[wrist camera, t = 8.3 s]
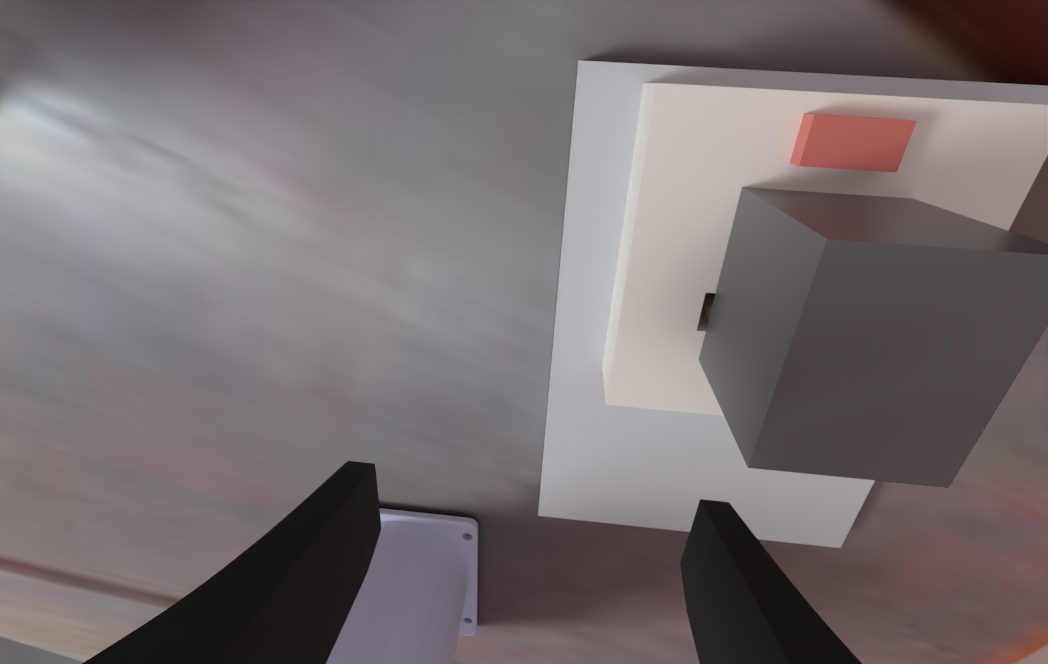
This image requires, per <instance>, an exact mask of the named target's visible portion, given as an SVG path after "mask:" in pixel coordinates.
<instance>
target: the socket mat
mask: <svg viewBox="0 0 1048 664" xmlns="http://www.w3.org/2000/svg"><path fill="white" fill-rule="evenodd" d="M644 83H667V84H685V85H703V86H721V87H738V88H756V89H774V90H792V91H810V92H828V93H846V94H863V95H881V96H899V97H917V98H935V99H953V100H970V101H988V102H1006V103H1024V104H1042V105H1048V86H1044V85H1025V84H1007V83H988V82H970V81H951V80H933V79H914V78H896V77H877V76H858V75H840V74H821V73H803V72H784V71H766V70H747V69H729V68H710V67H691V66H673V65H654V64H636V63H617V62H599V61H580V60H579V61H578V70H577V81H576V93H575V104H574V115H573V126H572V138H571V149H570V160H569V171H568V182H567V194H566V205H565V216H564V227H563V239H562V250H561V261H560V272H559V284H558V295H557V306H556V317H555V329H554V340H553V351H552V362H551V374H550V385H549V396H548V407H547V419H546V430H545V441H544V452H543V464H542V475H541V486H540V497H539V509H538V516H545V517H554V518H564V519H573V520H582V521H592V522H601V523H610V524H620V525H629V526H638V527H648V528H657V529H666V530H676V531H685V532H690V530H691V527H692V524H693V521H694V517H695V514H696V511H697V508H698V504H699V501H700V499H703V500H713V501H722V502H729V503H730V504H731V506H732V507H733V508H734V510H735V511H736V512H737V513H738V515H739V516H740V517H741V519H742V520H743V521H744V522H745V524H746V525H747V526H748V528H749V529H750V530H751V532H752V533H753V534H754V536H755V537H756V538H757V539H760V540H769V541H779V542H788V543H797V544H807V545H816V546H825V547H835V548H841V546H842V544H843V542H844V540H845V538H846V536H847V534H848V532H849V530H850V528H851V526H852V524H853V523H854V521H855V519H856V517H857V515H858V513H859V511H860V509H861V507H862V505H863V503H864V501H865V499H866V497H867V495H868V493H869V491H870V489H871V487H872V485H873V484H874V482H875V480H866V479H856V478H845V477H835V476H825V475H815V474H805V473H795V472H785V471H775V470H765V469H754V468H748V467H747V465H746V463H745V460H744V458H743V456H742V454H741V452H740V449H739V447H738V445H737V443H736V441H735V439H734V436H733V434H732V432H731V430H730V428H729V425H728V423H727V421H726V419H725V417H724V416H720V415H710V414H699V413H688V412H677V411H667V410H656V409H645V408H635V407H624V406H613V405H606V399H605V390H604V380H603V371H602V365H603V359H604V352H605V345H606V338H607V331H608V324H609V317H610V311H611V304H612V297H613V290H614V283H615V276H616V269H617V263H618V256H619V249H620V242H621V235H622V228H623V221H624V215H625V208H626V201H627V194H628V187H629V180H630V173H631V167H632V160H633V153H634V146H635V139H636V132H637V125H638V118H639V112H640V105H641V98H642V91H643V84H644ZM705 295H710V296H715V293H706V294H705Z"/></svg>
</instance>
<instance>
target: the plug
mask: <svg viewBox="0 0 1048 664" xmlns="http://www.w3.org/2000/svg"><path fill="white" fill-rule="evenodd" d="M702 310H703V312H704V314H705V315H706V317H707V319H708V325H707V329H706V333H705V337H704V341H703V345H702V349H701V353H700V357H699V362H700V364H701V366H702V369H703V371H704V373H705V375H706V377H707V379H708V382H709V384H710V386H711V388H712V390H713V393H714V395H715V397H716V399H717V401H718V404H719V406H720V408H721V410H722V412H723V414H724V417H725V419H726V421H727V423H728V425H729V428H730V430H731V432H732V434H733V436H734V439H735V441H736V443H737V445H738V447H739V449H740V452H741V454H742V456H743V458H744V460H745V463H746V465H747V467H748V468H754V469H765V470H775V471H785V472H795V473H805V474H815V475H825V476H835V477H845V478H856V479H866V480H876V481H886V482H896V483H906V484H916V485H926V486H936V487H947V488H949V486H950V484H951V483H952V481H953V479H954V478H955V476H956V474H957V473H958V471H959V470H960V468H961V466H962V465H963V463H964V461H965V460H966V458H967V456H968V455H969V453H970V452H971V450H972V448H973V447H974V445H975V443H976V442H977V440H978V438H979V437H980V435H981V434H982V432H983V430H984V429H985V427H986V425H987V424H988V422H989V420H990V419H991V417H992V416H993V414H994V412H995V411H996V409H997V407H998V406H999V404H1000V403H1001V401H1002V399H1003V398H1004V396H1005V394H1006V393H1007V391H1008V389H1009V388H1010V386H1011V385H1012V383H1013V381H1014V380H1015V378H1016V376H1017V375H1018V373H1019V371H1020V370H1021V368H1022V367H1023V365H1024V363H1025V362H1026V360H1027V358H1028V357H1029V355H1030V353H1031V352H1032V350H1033V349H1034V347H1035V345H1036V344H1037V342H1038V340H1039V339H1040V337H1041V336H1042V334H1043V332H1044V331H1045V329H1046V327H1047V326H1048V244H1046V243H1043V242H1040V241H1037V240H1034V239H1031V238H1028V237H1026V236H1023V235H1020V234H1017V233H1014V232H1011V231H1008V230H1005V229H1002V228H999V227H996V226H993V225H990V224H987V223H984V222H981V221H978V220H975V219H972V218H969V217H966V216H963V215H960V214H957V213H954V212H951V211H948V210H945V209H942V208H939V207H936V206H933V205H930V204H927V203H924V202H921V201H919V200H916V199H911V198H896V197H881V196H866V195H852V194H837V193H822V192H807V191H792V190H777V189H762V188H747V187H742V189H741V193H740V197H739V201H738V205H737V209H736V213H735V217H734V221H733V225H732V229H731V233H730V237H729V241H728V245H727V249H726V253H725V257H724V261H723V265H722V269H721V273H720V277H719V281H718V285H717V289H716V293H715V296H710V295H705V298H704V302H703V306H702Z"/></svg>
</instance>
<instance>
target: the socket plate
mask: <svg viewBox="0 0 1048 664" xmlns="http://www.w3.org/2000/svg"><path fill="white" fill-rule="evenodd" d="M1047 155H1048V105H1042V104H1024V103H1006V102H988V101H970V100H953V99H935V98H917V97H899V96H881V95H863V94H846V93H828V92H810V91H792V90H774V89H756V88H738V87H721V86H703V85H685V84H667V83H644V84H643V91H642V98H641V105H640V112H639V118H638V125H637V132H636V139H635V146H634V153H633V160H632V167H631V173H630V180H629V187H628V194H627V201H626V208H625V215H624V221H623V228H622V235H621V242H620V249H619V256H618V263H617V269H616V276H615V283H614V290H613V297H612V304H611V311H610V317H609V324H608V331H607V338H606V345H605V352H604V359H603V365H602V371H603V380H604V390H605V399H606V405H613V406H624V407H635V408H645V409H656V410H667V411H677V412H688V413H699V414H710V415H720V416H724V414H723V412H722V410H721V408H720V406H719V404H718V401H717V399H716V397H715V395H714V393H713V390H712V388H711V386H710V384H709V382H708V379H707V377H706V375H705V373H704V371H703V369H702V366H701V364H700V362H699V357H700V353H701V349H702V345H703V341H704V337H705V333H706V329H707V325H708V319H707V317H706V315H705V314H704V312H703V310H702V306H703V302H704V298H705V294H706V293H716V289H717V285H718V281H719V277H720V273H721V269H722V265H723V261H724V257H725V253H726V249H727V245H728V241H729V237H730V233H731V229H732V225H733V221H734V217H735V213H736V209H737V205H738V201H739V197H740V193H741V189H742V187H747V188H762V189H777V190H792V191H807V192H822V193H837V194H852V195H866V196H881V197H896V198H911V199H916V200H919V201H921V202H924V203H927V204H930V205H933V206H936V207H939V208H942V209H945V210H948V211H951V212H954V213H957V214H960V215H963V216H966V217H969V218H972V219H975V220H978V221H981V222H984V223H987V224H990V225H993V226H996V227H999V228H1002V229H1005V230H1008V231H1009V229H1010V227H1011V225H1012V223H1013V221H1014V219H1015V217H1016V215H1017V213H1018V211H1019V209H1020V207H1021V206H1022V204H1023V202H1024V200H1025V198H1026V196H1027V194H1028V192H1029V190H1030V188H1031V186H1032V184H1033V182H1034V180H1035V179H1036V177H1037V175H1038V173H1039V171H1040V169H1041V167H1042V165H1043V163H1044V161H1045V159H1046V157H1047Z"/></svg>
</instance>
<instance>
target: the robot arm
mask: <svg viewBox="0 0 1048 664" xmlns="http://www.w3.org/2000/svg"><path fill="white" fill-rule="evenodd" d="M466 533H468V534H466ZM681 571H682V579H683V587H684V594H685V600H686V607H687V613H688V617H689V622H690V626H691V630H692V634H693V638H694V642H695V646H696V650H697V654H698V658H699V661H700V664H862V663H861V662H860V661H859V660H858V659H857V658H856V657H855V656H854V655H853V653H852V652H851V651H850V650H849V649H848V648H847V647H846V646H845V645H844V643H843V642H842V641H841V640H840V639H839V638H838V637H837V636H836V634H835V633H834V632H833V631H832V630H831V629H830V628H829V627H828V626H827V624H826V623H825V622H824V621H823V620H822V619H821V617H820V616H819V615H818V614H817V613H816V612H815V610H814V609H813V608H812V607H811V606H810V605H809V603H808V602H807V601H806V600H805V598H804V597H803V596H802V595H801V594H800V592H799V591H798V590H797V589H796V587H795V586H794V585H793V584H792V583H791V581H790V580H789V579H788V578H787V576H786V575H785V574H784V573H783V571H782V570H781V569H780V568H779V566H778V565H777V564H776V563H775V561H774V560H773V559H772V558H771V556H770V555H769V554H768V552H767V551H766V550H765V549H764V547H763V546H762V545H761V543H760V542H759V541H758V539H757V538H756V537H755V536H754V534H753V533H752V532H751V530H750V529H749V528H748V526H747V525H746V524H745V522H744V521H743V520H742V519H741V517H740V516H739V515H738V513H737V512H736V511H735V510H734V508H733V507H732V506H731V504H730V503H729V502H722V501H713V500H703V499H700V501H699V504H698V508H697V511H696V514H695V517H694V521H693V524H692V527H691V530H690V534H689V537H688V540H687V543H686V547H685V550H684V553H683V556H682V560H681ZM477 602H478V523H477V522H476V521H475V520H474V519H472V518H467V517H458V516H448V515H439V514H430V513H421V512H411V511H402V510H393V509H384V508H379V499H378V490H377V480H376V470H375V464H371V463H362V462H353V461H348V462H347V463H345V464H344V465H343V466H342V467H341V468H340V469H338V470H337V471H336V472H335V473H334V474H333V475H332V476H331V477H330V478H328V479H327V480H326V481H325V482H324V483H323V484H322V485H321V486H320V487H319V488H318V489H316V490H315V491H314V492H313V493H312V494H311V495H310V496H309V497H308V498H307V499H305V500H304V501H303V502H302V503H301V504H300V505H299V506H298V507H296V508H295V509H294V510H293V511H292V512H291V513H290V514H288V515H287V516H286V517H285V518H284V519H283V520H281V521H280V522H279V523H278V524H277V525H276V526H275V527H273V528H272V529H271V530H270V531H269V532H268V533H266V534H265V535H264V536H263V537H262V538H260V539H259V540H258V541H257V542H256V543H254V544H253V545H252V546H251V547H249V548H248V549H247V550H246V551H244V552H243V553H242V554H241V555H239V556H238V557H237V558H236V559H234V560H233V561H232V562H231V563H229V564H228V565H227V566H226V567H224V568H223V569H222V570H220V571H219V572H218V573H217V574H215V575H214V576H213V577H211V578H210V579H209V580H207V581H206V582H205V583H203V584H202V585H200V586H199V587H198V588H196V589H195V590H194V591H192V592H191V593H189V594H188V595H187V596H185V597H184V598H182V599H181V600H180V601H178V602H177V603H175V604H174V605H172V606H171V607H170V608H168V609H167V610H165V611H164V612H162V613H161V614H159V615H158V616H156V617H155V618H153V619H152V620H150V621H149V622H147V623H146V624H144V625H143V626H141V627H140V628H138V629H136V630H135V631H133V632H132V633H130V634H129V635H127V636H125V637H124V638H122V639H121V640H119V641H117V642H116V643H114V644H113V645H111V646H110V647H108V648H106V649H105V650H103V651H102V652H100V653H98V654H97V655H95V656H94V657H92V658H91V659H89V660H87V661H86V662H84V663H82V664H453V659H454V654H455V649H456V645H457V640H458V635H465V636H472V635H474V634H475V633H476V631H477Z"/></svg>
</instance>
